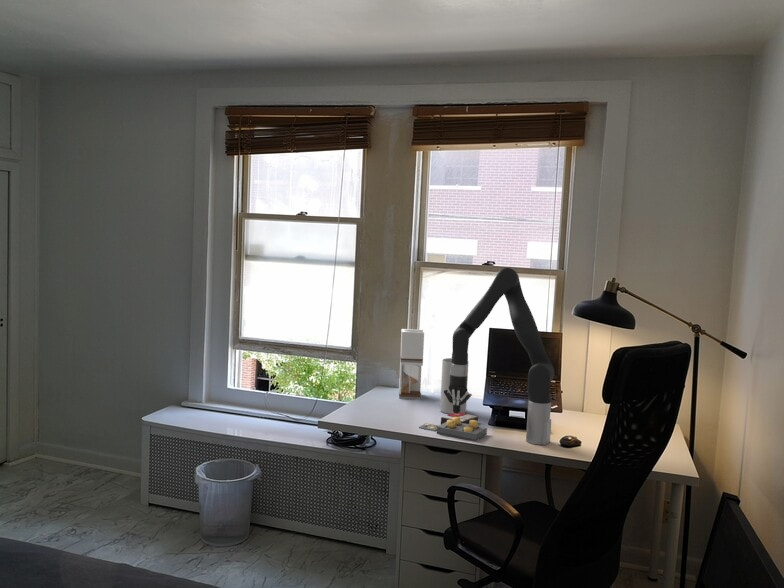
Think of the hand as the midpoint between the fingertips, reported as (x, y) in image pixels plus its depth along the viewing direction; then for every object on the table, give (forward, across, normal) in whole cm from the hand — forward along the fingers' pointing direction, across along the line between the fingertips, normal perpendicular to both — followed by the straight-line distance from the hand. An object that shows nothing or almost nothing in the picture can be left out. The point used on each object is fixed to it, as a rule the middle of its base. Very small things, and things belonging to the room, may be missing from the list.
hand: (456, 413), depth 282 cm
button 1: (+5, 0, +6) cm, 8 cm away
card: (+8, +11, +3) cm, 14 cm away
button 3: (+7, -8, +6) cm, 12 cm away
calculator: (+8, +3, -11) cm, 14 cm away
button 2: (+5, 0, 0) cm, 5 cm away
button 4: (+5, -8, 0) cm, 10 cm away
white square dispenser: (+9, +46, -42) cm, 63 cm away
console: (+8, -4, +3) cm, 9 cm away
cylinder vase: (+8, +15, -29) cm, 33 cm away
